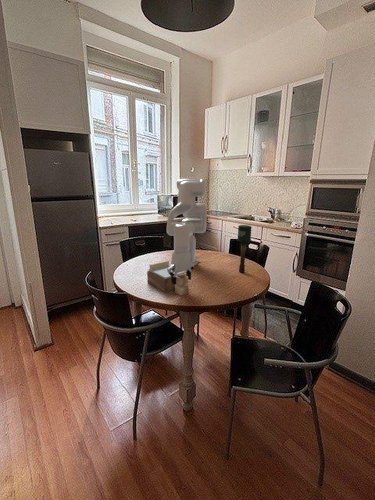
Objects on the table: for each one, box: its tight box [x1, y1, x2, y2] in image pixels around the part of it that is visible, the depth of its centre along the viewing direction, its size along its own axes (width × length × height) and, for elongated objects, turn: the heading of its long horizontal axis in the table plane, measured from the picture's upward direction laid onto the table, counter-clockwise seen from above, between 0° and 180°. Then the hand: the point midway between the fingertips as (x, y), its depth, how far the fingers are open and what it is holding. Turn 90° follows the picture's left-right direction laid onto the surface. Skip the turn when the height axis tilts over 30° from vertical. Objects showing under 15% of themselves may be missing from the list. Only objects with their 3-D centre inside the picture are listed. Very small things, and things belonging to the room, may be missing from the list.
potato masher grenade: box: [236, 224, 253, 274], centre depth 157 cm, size 8×9×30 cm
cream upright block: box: [174, 273, 189, 296], centre depth 130 cm, size 5×5×10 cm
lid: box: [147, 259, 185, 279], centre depth 139 cm, size 13×16×4 cm
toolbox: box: [146, 270, 186, 294], centre depth 140 cm, size 14×17×7 cm
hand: (181, 281), depth 129 cm, fingers open, 9 cm apart
